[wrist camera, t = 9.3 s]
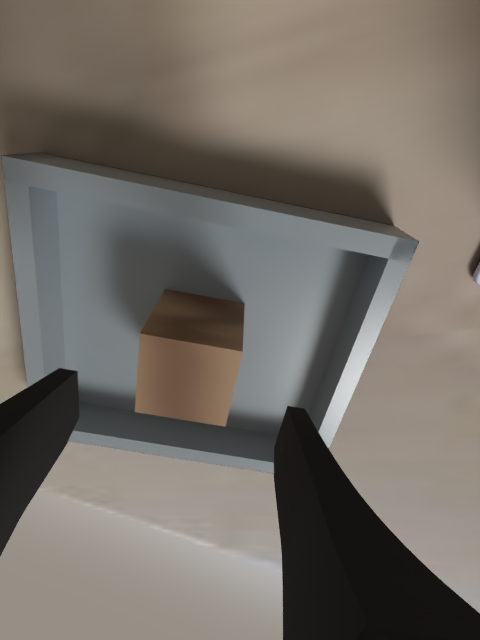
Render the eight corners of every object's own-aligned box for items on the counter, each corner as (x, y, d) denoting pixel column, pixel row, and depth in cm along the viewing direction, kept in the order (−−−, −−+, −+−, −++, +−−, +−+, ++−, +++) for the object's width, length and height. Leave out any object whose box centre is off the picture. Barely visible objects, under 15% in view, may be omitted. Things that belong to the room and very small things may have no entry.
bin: (394, 226, 18) (419, 241, 16) (308, 444, 26) (314, 480, 23) (40, 152, 17) (1, 155, 14) (56, 403, 24) (32, 435, 22)
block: (244, 303, 20) (242, 351, 15) (230, 367, 22) (225, 426, 17) (165, 288, 20) (139, 333, 15) (158, 355, 22) (134, 412, 17)
